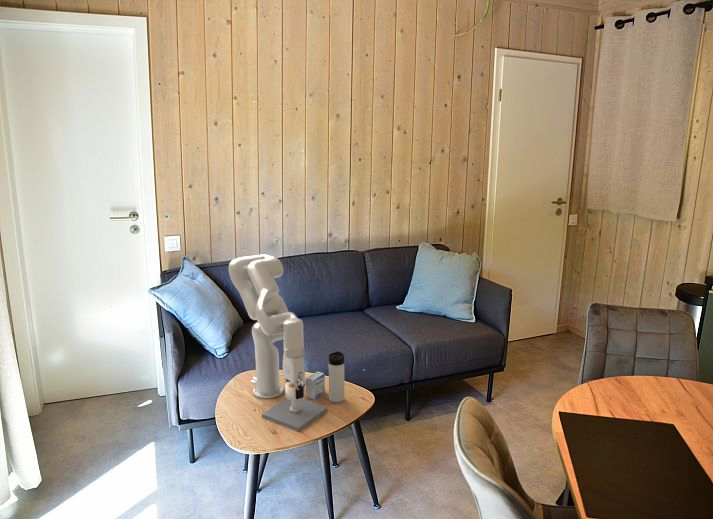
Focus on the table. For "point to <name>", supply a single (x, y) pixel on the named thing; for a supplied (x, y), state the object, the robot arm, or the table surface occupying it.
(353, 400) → the table surface
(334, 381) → the travel mug
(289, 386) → the cap
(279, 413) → the post base
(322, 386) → the medicine box
